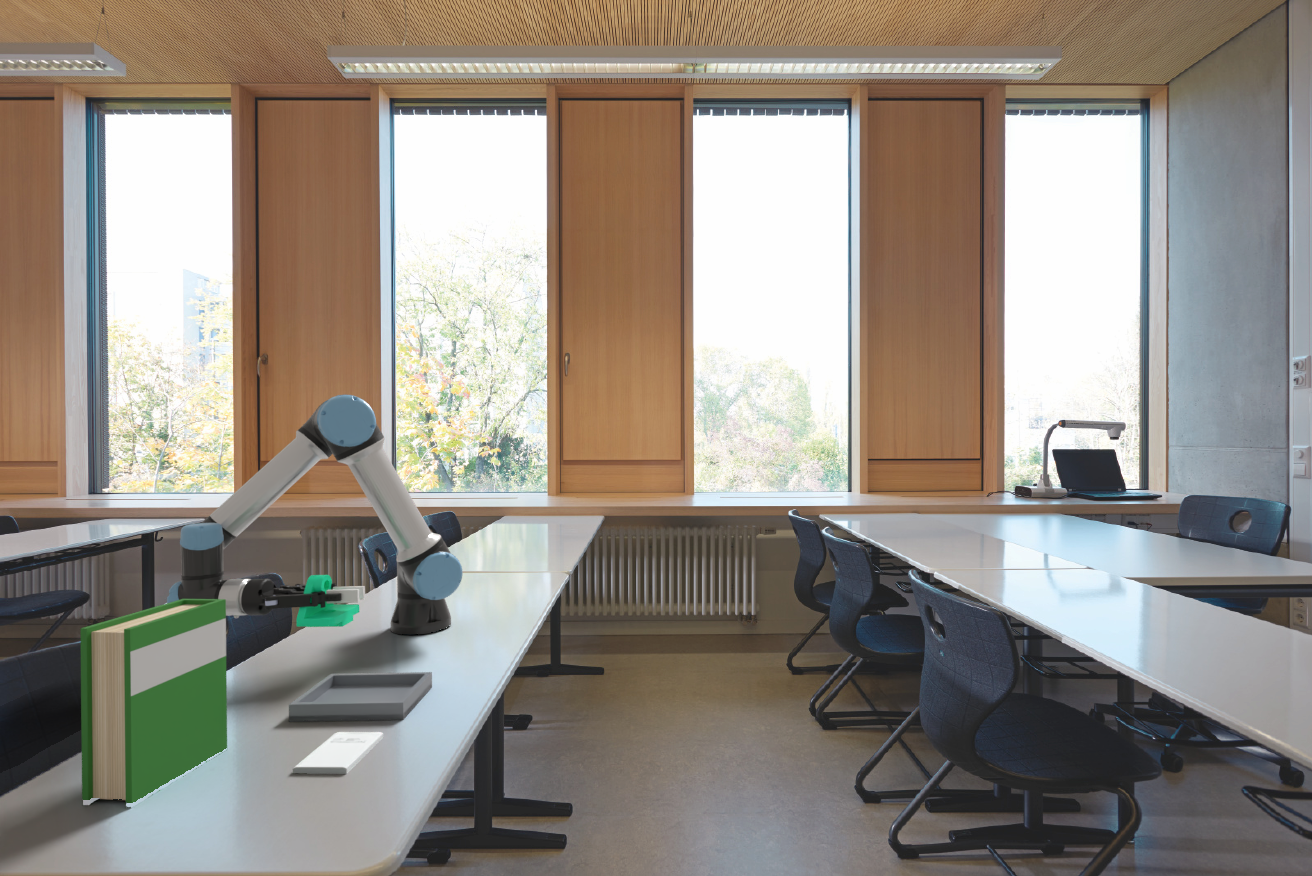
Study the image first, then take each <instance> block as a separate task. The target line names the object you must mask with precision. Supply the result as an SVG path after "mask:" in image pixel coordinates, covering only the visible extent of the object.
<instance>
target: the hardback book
mask: <svg viewBox="0 0 1312 876" xmlns="http://www.w3.org/2000/svg"><path fill="white" fill-rule="evenodd" d="M227 689H228V687H227V616H226V599H181V600H177V601H174V602H170V603H167V602H166V603H164V604H160V605H157V606H152V607H150V608H147V609H143V610H140V611H137V612H134V613H129V614H126V615H122V616H119V617H116V618H112V619H109V620H108V619H107V620H105V621H101V622H98V623H95V624H91V625H88V626H84V627H81V628H80V699H81V700H80V705H81V706H80V709H81V710H80V713H81V714H80V715H81V717H80V723H81V725H80V726H81V800H82V799H83V800H90V799H91V798H100V800H113V799H118V800H117V801H120V800H119V799H122V800H121V801H125V803H126V802H127V803H133V802H136V801H137V800H138V799H140V798H143V797H144V796H146V795H147V794H148V793H151V792H153V791H154V790H155V789H158V788H159V787H160V786H162V785H164V784H166V783H168V782H169V781H170V780H172V779H175V778H176V777H178V776H180V775H182V774H184V773H185V772H186V771H188V770H191V769H192V768H194V767H195V766H198V765H199V764H201V762H203V761H206V760H207V759H208V758H210V757H212V756H214V755H215V754H217V753H219V752H222V751H223V750H224V749H226V748H227V749H228V706H227V705H228V699H227V698H228V697H227V696H228V695H227V694H228V693H227ZM222 753H223V752H222Z"/></svg>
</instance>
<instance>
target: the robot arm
mask: <svg viewBox="0 0 1312 876" xmlns="http://www.w3.org/2000/svg"><path fill="white" fill-rule="evenodd" d="M315 409H316V410H315V411H314V412H313V413H312V415H310V417H309V418H308V419H307V421H306V422H305V423H303V424H302V425H301V427H299V428H298V429H297V430H296V431H295V438H294V439H292V440H291V441H290V442H289V443H288V444H287V445H286V446H285V447H284V448H282V449H281V451H279V452H278V453H277V454H276V455H275V456H274V457H272V458H271V460H270V461H268V462H267V463H266V464H265V465H263V466H262V467H261V469H259V470H258V471H257V472H256V473H255V474H254V475H253V476H251V478H249V480H247V481H246V482H244V483H243V484H242V486H241V487H239V488H238V489H237V490H236V491H235V492H234V493H232V494H231V496H229V498H227V499H226V500H225V501H224V502H223V503H222V504H220V506H219V507H217V508H216V509H215V510H213V512H211V513H210V514H209V516H208V517H205V519H204V520H203V521H202V522H200V523H191V524H186V525H184V526H183V527H182V528H181V529H180V538H179V545H180V561H181V562H180V565H181V567H180V568H181V574H180V576H181V578H180V581H179V580H178V581H176V582H175V583H174V584H172V585H171V587H170V588H169V590H168V593H169V594H168V596H167V597H166V604H167V603H170V602H174V601H177V600H181V599H226V617H227V616H229V617H230V616H233V619H239V617H240V616H267V615H268V614H269V613H271V612H272V610H275V609H288V608H289V609H291V608H300V607H310V606H314V607H315V606H318V604H321V608H323V607H325V602H327V603H333V604H358V603H360V600H365V599H366V586H365V585H356V586H355V585H354V586H353V585H351V586H350V585H349V586H348V585H347V586H337V584H336V583H335V582H332V584H331V590H327V591H326V594H325V591H321V592H312V593H311V594H304V590H305V587H306V584H302V583H296V584H295V585H290V584H284V585H280V586H279V587H277V586H276V585H275V581H273V580H272V579H270V578H253V579H251V578H243V579H242V578H236V579H235V578H234V579H231V578H230V579H224V575H225V571H224V550H225V549H226V548H227V547H228V546H229V545H230V544H231V543H232V542H233V541H234V540H235V539H236V538H237V537H238V536H239V535H240V534H242V532H244V531H245V530H246V529H247V528H248V527H249V526H250V525H251V524H253V522H255V521H256V520H258V518H259V517H260V516H261V515H262V514H263V513H265V511H266V510H268V509H269V508H270V507H271V506H272V505H273V504H274V503H275V502H276V501H277V500H278V499H279V498H281V497H282V496H283V495H284V494H285V493H286V492H287V491H288V490H289V489H291V488H292V486H294V485H295V483H297V482H298V481H299V480H300V479H301V478H302V477H303V476H305V474H306V473H308V472H309V471H310V470H311V469H312V468H313V467H315V465H316V464H317V463H318V462H320V461H321V460H327V459H329V458H331V456H332V455H333V457H334V458H335V460H336V462H338V463H340V464H345V465H347V467H348V468H349V470H350V472H351V473H352V475H353V477H354V478H355V479H356V481H357V483H358V485H359V486H360V489H361V490H362V491H363V493H364V495H365V497H366V498H367V500H368V501H369V503H370V505H371V506H372V508H373V510H374V512H375V513H376V515H377V517H378V518H379V521H380V522H381V524H382V525H383V527H384V528H385V530H386V531H387V532H386V533H388V535H389V537H390V539H391V540H392V542H393V544H394V545H395V548H396V553H395V555H396V579H397V580H396V582H397V584H396V589H397V590H396V591H397V593H396V594H397V598H396V599H397V600H396V604H395V607H394V609H393V613H392V616H391V619H390V632H391V631H392V633H393V634H397V635H402V634H418V635H424V634H425V635H427V634H432V633H431V632H433V633H436V632H435V631H437V632H439V631H438V630H440V629H444V630H446V629H447V628H446V627H448V626H449V625H451V626H452V615H451V612H450V610H449V606H448V603H447V602H446V598H448V597H450V596H451V595H452V594H454V593H455V592H456V591H457V590H458V588H459V586H460V585H461V582H462V579H463V573H464V572H463V566H462V564H461V561H460V560H459V559H458V557H456V555H454V554H452V553H451V551H450V548H448V546H447V544H446V541H444V539H443V537H442V535H441V534H438V533H434V532H433V531H431V529H430V528H429V526H428V524H427V522H426V521H425V519H424V517H423V516H422V514H421V512H420V511H419V509H418V507H417V505H416V503H415V502H414V500H413V497H412V496H411V494H410V493H409V491H408V489H407V488H406V486H405V484H404V482H403V481H402V479H401V477H400V475H399V474H398V471H396V468H395V467H394V465H393V464H392V461H391V460H390V458H389V456H388V455H387V452H385V449H384V448H383V445H384V442H385V438H386V437H385V436H384V435H383V433H382V431H381V429H380V427H379V425H378V424H377V419H376V415H375V411H374V410H373V409H372V407H371V406H370V403H367V401H365V399H362V398H361V397H358V396H355V395H352V394H338V395H335V396H332V397H331V398H328V399H327V400H325V401H324V402H322V403H321V404H320V405H318V407H317V408H315ZM310 597H311V602H312V603H310ZM445 628H446V629H445ZM448 628H449V627H448Z"/></svg>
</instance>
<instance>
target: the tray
mask: <svg viewBox="0 0 1312 876" xmlns="http://www.w3.org/2000/svg"><path fill="white" fill-rule="evenodd" d="M432 688H433V672H432V671H427V672H426V671H424V672H423V671H422V672H421V671H420V672H419V671H418V672H416V671H415V672H412V671H411V672H370V673H369V672H363V673H361V672H359V673H357V672H355V673H354V672H353V673H330V674H329V675H327V676H326V677H325V678H323V679H322V680H321V681H319V682H317V683H316V684H315V685H313V686H312V687H311V688H310V689H308V690H307V691H305V692H304V693H302V695H300V696H299V697H297V698H296V699H294V700H293V701H292V702H290V703H289V704H288V722H290V723H291V722H294V723H295V722H296V723H297V722H298V723H299V722H344V721H348V722H350V721H353V722H354V721H355V722H356V721H357V722H358V721H402V720H404V719H406V717H408V715H409V714H410V713H411V712H412V711H413V709H415V708H416V706H417V705H418V704H419V703H420V702H421V700H422V699H424V697H425V696H426V695H427V694H428V692H430V690H431V689H432Z"/></svg>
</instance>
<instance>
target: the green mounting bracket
mask: <svg viewBox="0 0 1312 876" xmlns="http://www.w3.org/2000/svg"><path fill="white" fill-rule="evenodd" d="M332 583H333V580H332V577H331V576H330V575H329V574H312V575H309V577H308V578H307V580H306V584H305V585H306V587H305V590H304V594H311V593H312V592H321V591H325V594H326V591H327V590H331V584H332ZM310 603H312V602H311V597H310ZM297 612H298V613H297V616H296V618H295V620H296V623H295V624H296V627H306V628H322V627H323V628H328V627H329V628H330V627H338V628H339V627H344V626H346V625H349V624H350V623H351V622H353V621H354V616H355V615H357V614H358V613H360V603H359V604H358V603H327V602H325V607H323V608H321V604H318V606H315V607H314V606H310V607H298V611H297Z"/></svg>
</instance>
